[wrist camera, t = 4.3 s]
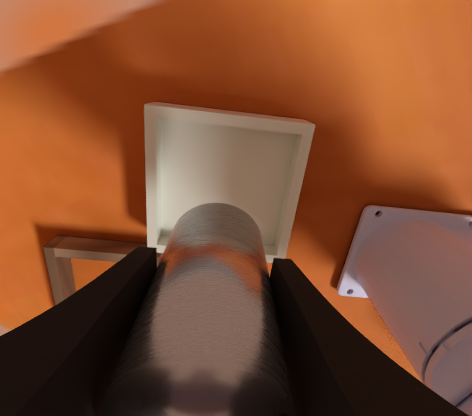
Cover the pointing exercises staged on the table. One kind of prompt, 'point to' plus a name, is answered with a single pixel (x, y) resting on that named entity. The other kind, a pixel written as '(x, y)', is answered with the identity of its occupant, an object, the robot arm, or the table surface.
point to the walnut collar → (80, 248)
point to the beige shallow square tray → (224, 168)
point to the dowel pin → (205, 328)
